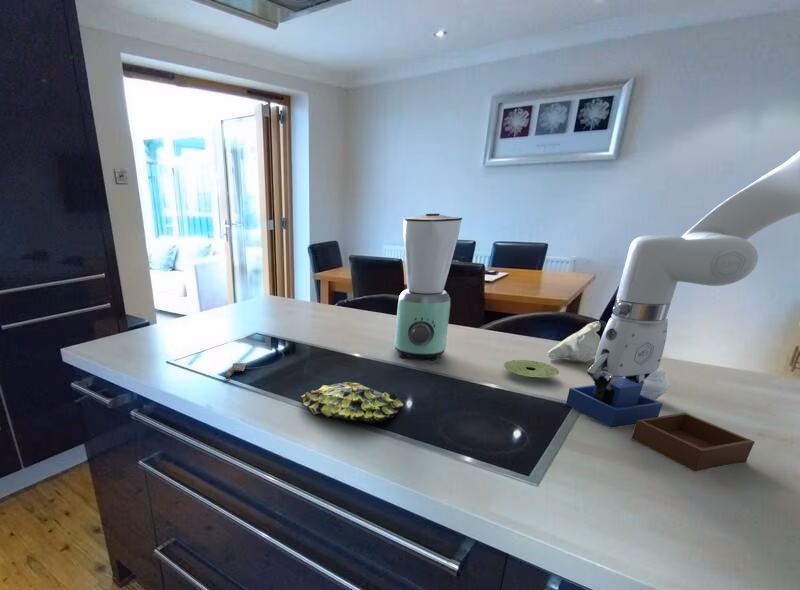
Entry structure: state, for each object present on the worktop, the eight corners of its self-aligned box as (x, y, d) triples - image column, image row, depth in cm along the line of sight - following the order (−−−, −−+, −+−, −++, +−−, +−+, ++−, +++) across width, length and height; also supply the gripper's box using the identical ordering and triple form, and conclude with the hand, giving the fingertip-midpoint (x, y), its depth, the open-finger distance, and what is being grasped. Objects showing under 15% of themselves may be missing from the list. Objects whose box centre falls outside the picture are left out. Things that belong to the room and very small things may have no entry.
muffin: (630, 402, 88) (640, 369, 85) (622, 390, 93) (632, 359, 90) (668, 407, 85) (680, 373, 83) (658, 395, 91) (669, 363, 88)
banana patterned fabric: (282, 413, 88) (283, 381, 88) (328, 406, 101) (329, 377, 100) (371, 427, 76) (372, 389, 75) (411, 416, 88) (412, 384, 88)
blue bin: (607, 398, 90) (612, 382, 88) (656, 421, 80) (662, 403, 79) (565, 404, 88) (569, 387, 86) (611, 428, 78) (616, 410, 77)
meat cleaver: (253, 365, 112) (236, 364, 114) (253, 361, 112) (235, 359, 114) (231, 380, 102) (212, 379, 104) (231, 376, 102) (212, 374, 103)
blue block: (611, 399, 86) (618, 375, 84) (635, 409, 82) (643, 385, 80) (590, 402, 85) (596, 378, 83) (613, 413, 81) (620, 388, 79)
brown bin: (678, 430, 77) (684, 412, 76) (746, 461, 68) (755, 441, 66) (631, 438, 75) (637, 419, 74) (694, 471, 66) (702, 451, 64)
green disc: (539, 389, 95) (541, 380, 94) (492, 373, 103) (493, 365, 103) (567, 377, 100) (569, 369, 99) (520, 363, 109) (521, 356, 108)
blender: (446, 366, 108) (466, 214, 95) (391, 362, 112) (402, 215, 98) (443, 343, 125) (459, 211, 112) (395, 340, 129) (405, 212, 115)
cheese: (569, 378, 105) (633, 340, 100) (550, 353, 106) (612, 314, 101) (554, 374, 119) (609, 341, 115) (537, 353, 120) (590, 319, 116)
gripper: (619, 319, 71) (592, 419, 78) (701, 311, 75) (668, 407, 82) (580, 309, 78) (559, 402, 85) (657, 302, 81) (630, 392, 88)
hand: (613, 404), depth 83 cm, fingers closed on blue block, 5 cm apart
